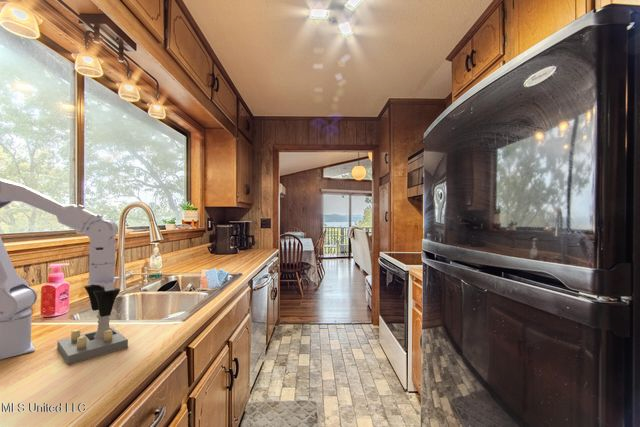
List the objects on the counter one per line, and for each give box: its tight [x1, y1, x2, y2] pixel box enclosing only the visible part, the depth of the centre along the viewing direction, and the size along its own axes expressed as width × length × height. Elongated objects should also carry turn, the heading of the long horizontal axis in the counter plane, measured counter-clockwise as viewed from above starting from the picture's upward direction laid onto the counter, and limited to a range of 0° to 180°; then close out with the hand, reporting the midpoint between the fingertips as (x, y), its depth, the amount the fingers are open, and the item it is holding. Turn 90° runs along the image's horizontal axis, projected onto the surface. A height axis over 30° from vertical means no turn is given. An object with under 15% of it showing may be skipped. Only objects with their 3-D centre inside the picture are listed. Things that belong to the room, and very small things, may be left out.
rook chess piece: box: [94, 311, 113, 340], centre depth 80 cm, size 4×4×8 cm
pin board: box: [56, 326, 129, 365], centre depth 76 cm, size 13×12×4 cm
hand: (101, 312), depth 79 cm, fingers open, 7 cm apart
